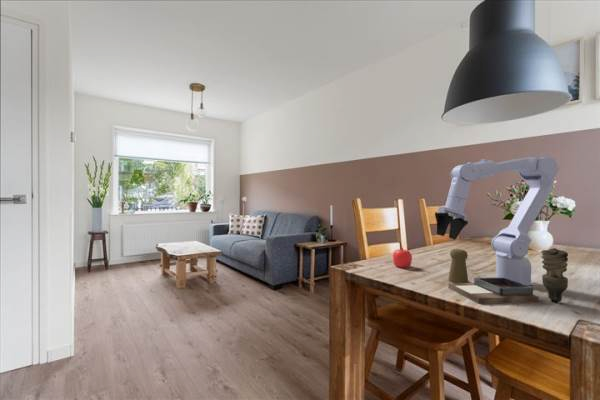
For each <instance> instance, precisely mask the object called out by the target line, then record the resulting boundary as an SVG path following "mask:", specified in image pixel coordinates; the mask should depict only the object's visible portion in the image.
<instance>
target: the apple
mask: <svg viewBox="0 0 600 400" xmlns="http://www.w3.org/2000/svg"><path fill="white" fill-rule="evenodd" d="M392 260H393V265H395V266H396V267H397V268H399V269H407V267H408V268H409V267H411V266H412V265H411V264H412V261H413V256H412V254H411V252H410V251H409V250H407V249H404V248H403V247H401V249H399V248H398V249H395V250H394V251H393V253H392Z"/></svg>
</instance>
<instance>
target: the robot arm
mask: <svg viewBox="0 0 600 400" xmlns="http://www.w3.org/2000/svg"><path fill="white" fill-rule="evenodd" d="M559 170H560V168H559V165H558V162H557V161H556V159H555V158H554V157H552V156H543V157H541V156H534V157H533V156H532V157H531V156H530V157H523V158H522V157H521V158H514V159H510V160H506V161H505V160H504V161H500V162H495V161H493V160H490V159H489V160H488V159H487V158H484V159H480V161H476V162H473V161H469V162H467V163H465V164H459V165H456V166H455V167H454V168H453V169H452V170H451V171H450V173H449V174H450V178H451V183H450V187H449V191H448V193H447V199H446V202H445V204H444V205H445V206H438V208H437V211H435V212H434V216H435V217H434V218H435V220H436V235H438V236H442V237H444V236H445V235H446V232H447V230H448V227H449V226H450V227H449V235H448V238H449V239H452V240H457V238H458V237H459V235H460V234H461V231H462V230H463V229H464V227H466V226H468V223H469V221H467V217H468V215H466V213H464V210H465V206H466V203H467V199H468V196H469V191H470V188H471V185H472V181H475V180H480V179H486V178H487V179H488V178H492V177H494V176H496V174H497V173H498V172H506V171H514V173H517V174H518V176H519V177H520V178H521V179H522V180H523V181H524V182H525V183H526V185H527V186H529V189H528V191H527V193H526V195H525V197H524V198H523V200H522V202H521V203H520V205H519V207H518V209H517V210H516V212H515V214H514V216H513V218H512V219H511V221H510V223H509V224H508V226H507V227H504V228H503V229H501V230H500V231H499V232H498V234H497V235H495V236H494V237H493V238H492V240H491V245H490V246H491V248H492V250H493V251H494V254H495V277H502V278H507V279H510V280H513V281H516V282H519V283H522V284H524V285H527V286H533V285H534V283H533V282H532V264H531V262H530V260H529V259H528V258H526V256H527V255H528V253H529V251H530V244H531V242H532V239H531V237H529V235H528V233H529V231H530V229H531V228H532V226H533V224H534V223H535V220H536V219H537V217H538V215H539V213H540V212H541V210H542V208H543V207H544V206H545V204H546V202H547V200H548V198H549V196H550V195H551V192H552V190H553V189H554V188H553V187H554V184H555V183H554V181H555V178H556V176H557V175H558V172H559ZM493 277H494V276H492V277H491V276H490V277H489V278H493Z"/></svg>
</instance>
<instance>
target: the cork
mask: <svg viewBox="0 0 600 400" xmlns="http://www.w3.org/2000/svg"><path fill="white" fill-rule="evenodd" d="M449 254H450V258H451V262H450V268H449V275H448V280H447V281H449V283H469V278H468V275H469V274H468V270H467V268H468V267H467V259H468V256H469V255H468V252H467V251H466V250H464V249H460V248H458V249H457V248H454V249H451V250H450V253H449Z"/></svg>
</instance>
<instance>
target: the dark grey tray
mask: <svg viewBox="0 0 600 400" xmlns="http://www.w3.org/2000/svg"><path fill="white" fill-rule="evenodd" d="M492 277H493V278H490V277H475V278H474V279H473V281H474V282H473V283H474V285H477V286H479V287H481V288H483V289H486V290H488V291H490V292H493V293H495V294H497V295H502V296H513V295H532V294H533V295H534V287H533V286H531V285H524V284H522V283H519V282H516V281H513V280H510V279H507V278H502V277H496V276H492ZM496 284H504V285H506V286H509V288H500V287H498V286H495V285H496Z"/></svg>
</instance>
